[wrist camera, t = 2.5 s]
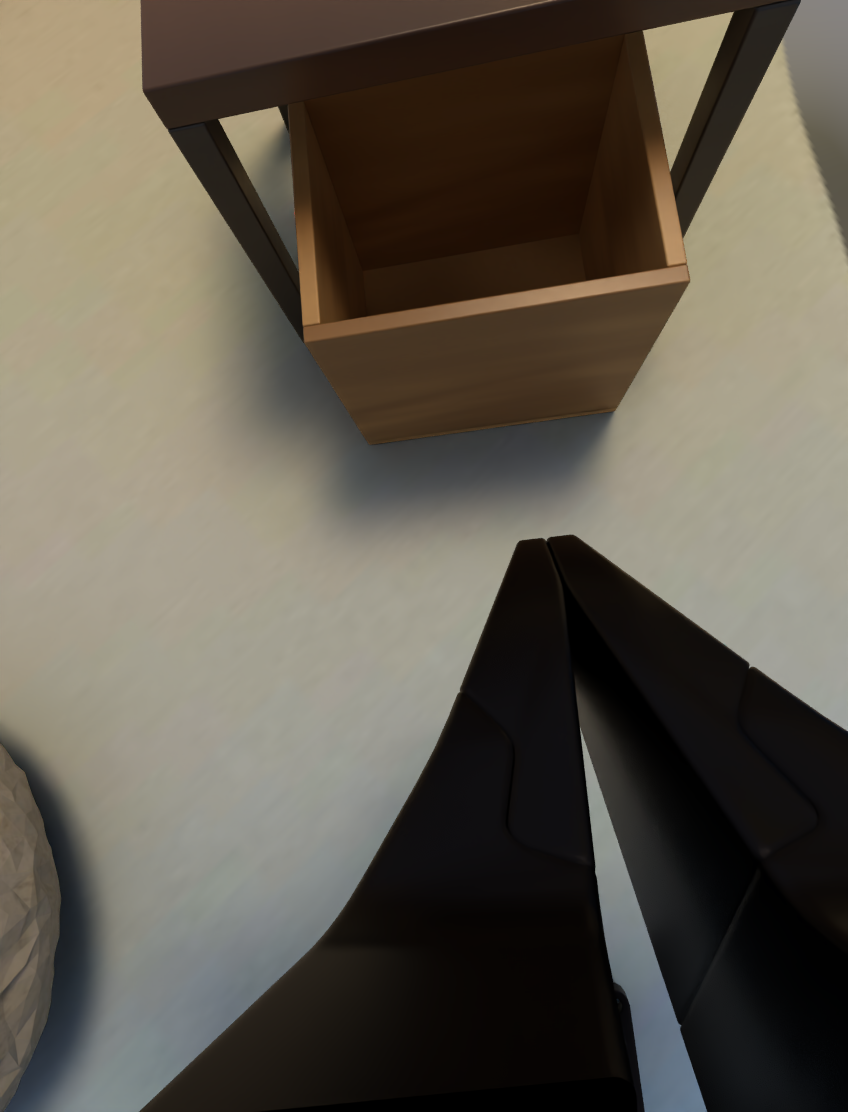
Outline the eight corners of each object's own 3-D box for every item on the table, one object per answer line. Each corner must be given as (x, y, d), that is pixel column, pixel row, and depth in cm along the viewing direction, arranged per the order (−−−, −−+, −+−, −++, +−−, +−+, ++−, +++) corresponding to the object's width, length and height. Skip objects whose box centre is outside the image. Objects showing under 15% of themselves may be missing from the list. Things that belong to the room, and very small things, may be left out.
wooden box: (615, 411, 21) (691, 281, 13) (368, 445, 22) (303, 343, 14) (586, 231, 22) (640, 13, 14) (353, 271, 23) (285, 88, 15)
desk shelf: (660, 286, 22) (833, -60, 11) (303, 343, 23) (141, 91, 12) (617, 48, 23) (728, -456, 13) (287, 116, 25) (133, -280, 14)
